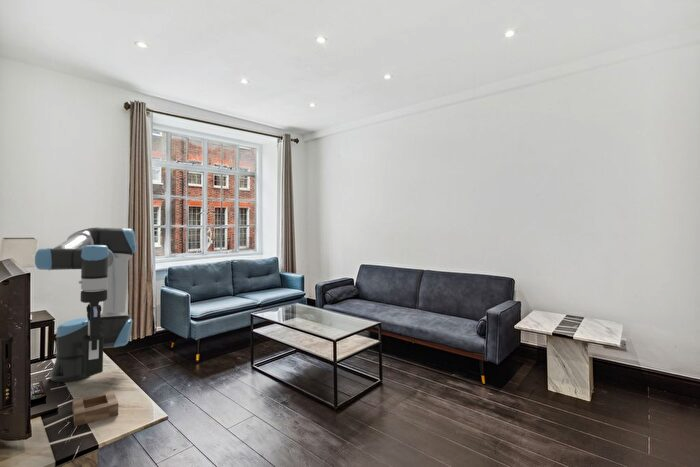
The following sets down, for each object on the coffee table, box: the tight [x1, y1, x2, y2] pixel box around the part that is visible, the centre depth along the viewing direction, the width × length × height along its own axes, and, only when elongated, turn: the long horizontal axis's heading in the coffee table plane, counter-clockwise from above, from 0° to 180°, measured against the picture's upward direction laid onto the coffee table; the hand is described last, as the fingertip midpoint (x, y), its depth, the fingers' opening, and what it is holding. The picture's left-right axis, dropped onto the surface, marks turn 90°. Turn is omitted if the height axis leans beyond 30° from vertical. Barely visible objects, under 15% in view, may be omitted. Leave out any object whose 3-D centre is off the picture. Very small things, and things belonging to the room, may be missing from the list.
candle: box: [82, 320, 104, 377], centre depth 122 cm, size 5×5×25 cm
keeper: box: [71, 389, 119, 427], centre depth 123 cm, size 12×12×4 cm
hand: (92, 355), depth 122 cm, fingers closed on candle, 6 cm apart
